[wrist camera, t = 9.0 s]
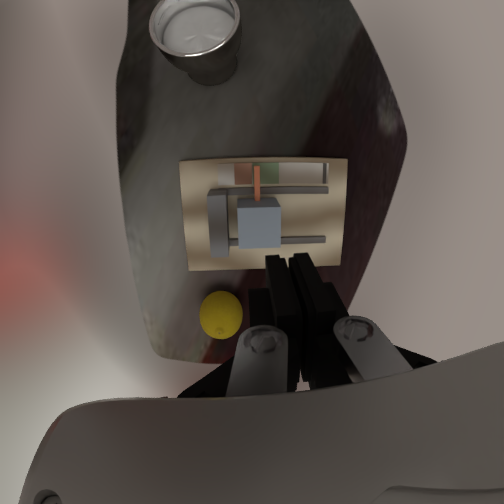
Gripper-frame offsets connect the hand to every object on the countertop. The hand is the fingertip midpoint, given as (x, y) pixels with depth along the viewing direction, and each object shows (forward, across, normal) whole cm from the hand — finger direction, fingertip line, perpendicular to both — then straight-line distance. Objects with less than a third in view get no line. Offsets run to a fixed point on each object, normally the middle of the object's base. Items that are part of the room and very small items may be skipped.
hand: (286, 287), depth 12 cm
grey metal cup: (+26, +4, -15) cm, 30 cm away
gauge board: (+25, -1, +4) cm, 26 cm away
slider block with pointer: (+24, 0, +3) cm, 24 cm away
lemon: (+25, +6, +16) cm, 31 cm away
